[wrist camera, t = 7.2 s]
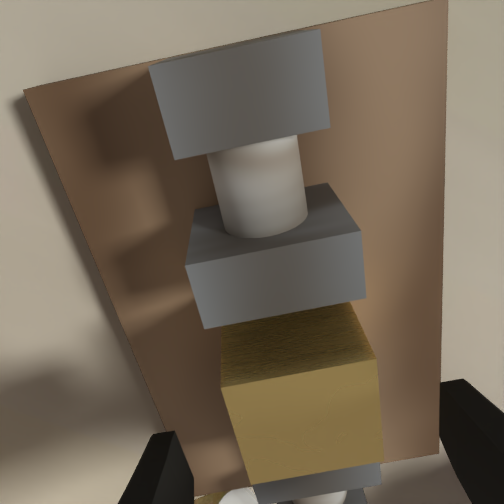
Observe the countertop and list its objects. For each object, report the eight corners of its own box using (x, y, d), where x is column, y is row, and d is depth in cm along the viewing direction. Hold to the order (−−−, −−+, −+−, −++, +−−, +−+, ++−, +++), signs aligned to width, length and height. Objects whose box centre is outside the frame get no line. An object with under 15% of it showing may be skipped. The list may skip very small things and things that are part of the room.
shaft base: (429, 0, 12) (541, -19, 8) (428, 432, 21) (482, 537, 17) (39, 85, 13) (-58, 111, 8) (195, 473, 22) (187, 587, 17)
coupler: (331, 262, 15) (376, 358, 11) (342, 348, 17) (384, 461, 12) (222, 284, 15) (220, 387, 11) (244, 367, 17) (250, 484, 13)
